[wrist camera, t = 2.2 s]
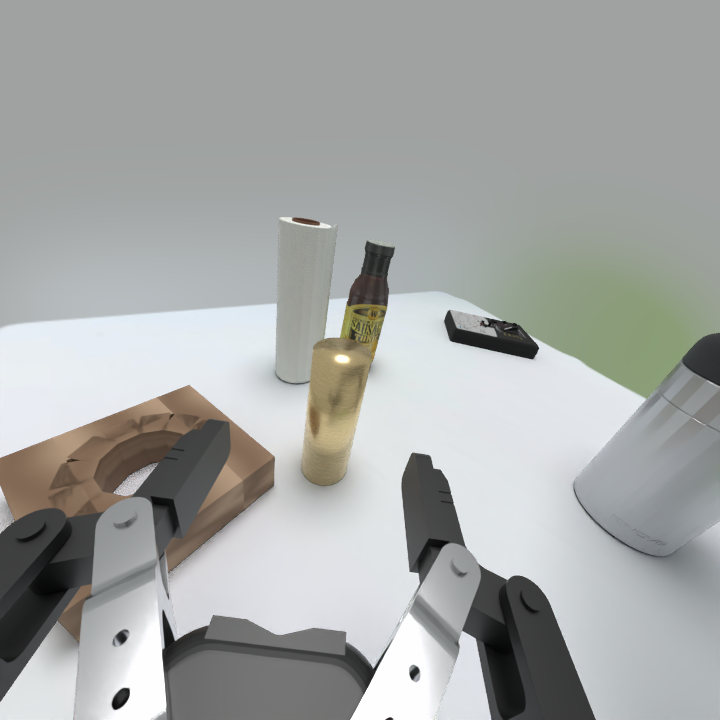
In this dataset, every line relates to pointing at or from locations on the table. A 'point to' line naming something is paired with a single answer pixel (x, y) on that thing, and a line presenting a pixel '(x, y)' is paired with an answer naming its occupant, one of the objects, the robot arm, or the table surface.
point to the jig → (123, 457)
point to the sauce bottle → (369, 297)
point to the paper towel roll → (302, 293)
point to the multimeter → (489, 334)
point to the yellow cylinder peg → (333, 407)
